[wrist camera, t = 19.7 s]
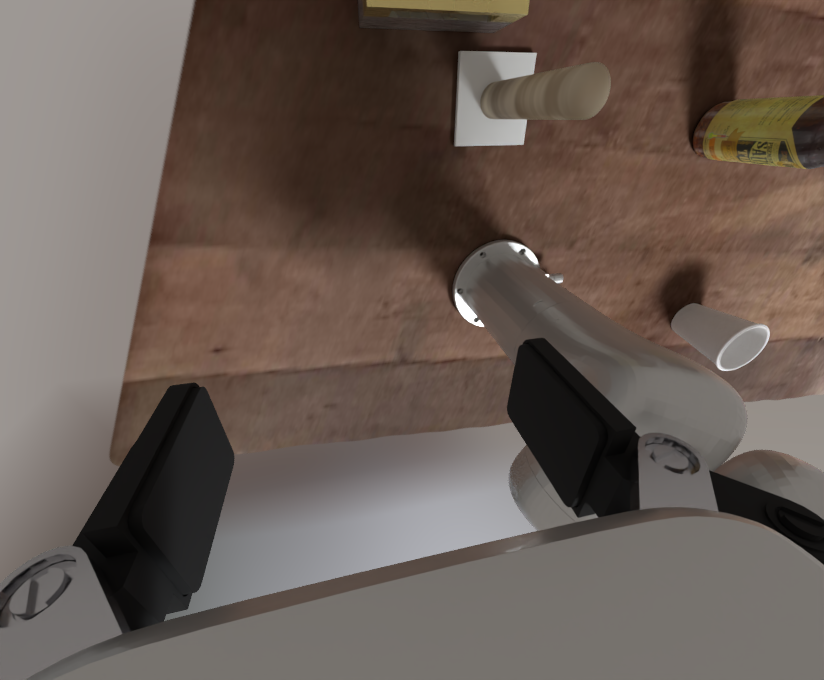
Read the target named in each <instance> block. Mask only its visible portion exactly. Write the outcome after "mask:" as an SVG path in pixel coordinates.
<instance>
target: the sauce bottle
mask: <svg viewBox="0 0 824 680" xmlns="http://www.w3.org/2000/svg"><path fill="white" fill-rule="evenodd" d="M693 148H694V150H695V152H696V154H698V155H699V156H701V157H706V158H709V159H711V160H721V161H731V162H741V163H751V164H762V165H771V166H783V167H794V168H803V169H812V168H818V167H823V166H824V95H821V96H800V97H778V98H758V99H740V100H734V101H730V102H723V103H720V104H718V105H715V106H714V107H712V108H711V109H710V110H709V111H707V112H706V114H705V115H704V116H703V117H702V119H701V120H700V122H699V124H698V125H697V127H696V129H695V132H694V137H693Z"/></svg>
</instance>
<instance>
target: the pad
mask: <svg viewBox="0 0 824 680" xmlns="http://www.w3.org/2000/svg"><path fill="white" fill-rule="evenodd" d="M536 54H537V53H521V52H485V51H459V52H458V73H457V93H456V113H455V134H454V146H490V145H523V144H524V137H525V130H526V123H527V119H489V118H487V117H486V116H485V115H484V114H483V112H482V110H481V104H480V102H481V96H482V93H483V91H484V89H485V88H486V87H487V86H488V85H489V84H491V83H493V82H497V81H502V80H507V79H512V78H517V77H522V76H527V75H532V74H534V67H535V61H536Z"/></svg>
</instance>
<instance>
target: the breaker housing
mask: <svg viewBox="0 0 824 680" xmlns="http://www.w3.org/2000/svg"><path fill="white" fill-rule="evenodd" d="M528 8H529V0H358V14H359V28H379V29H406V30H432V31H459V32H485V33H495V32H496V31H498V30H500V29H502V28H504V27H505V26H507V25H509V24H511V23H513V22H515V21H516V20H518V19H520V18H522V17H524V16H526V15H527V14H528Z"/></svg>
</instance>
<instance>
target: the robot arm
mask: <svg viewBox="0 0 824 680" xmlns="http://www.w3.org/2000/svg"><path fill="white" fill-rule="evenodd" d="M481 252H482V254H481V255H480V253H481ZM562 282H563V275H562V274H561V273H557V274H551V275H549V274H547V273H546V272H544V271H543V270H541V269H540V265H539V262H538V260H537V258H536V256H535V255H534V253H533V252H532V251H531V250H530V249H529V248H528V247H526V246H525V245H523V244H521V243H519V242H516V241H513V240H496V241H493V242H489V243H487V244H485V245H482V246H480V247H479V248H477V249H476V250H475V251H473V252H472V253H471V254H470V255H469V256H468V257H467V258H466V259H465V260H464V261H463V263H462V264H461V266H460V267H459V269H458V271H457V273H456V275H455V279H454V282H453V290H452V292H453V300H454V303H455V306H456V308H457V310H458V311H459V313H460V314H461V315H462V317H463V318H465V319H466V320H467V321H468V322H470V323H472V324H474V325H477V326H481V327H485V328H486V329H487V331H488V332H489V333H490V334H491V336H492V337H493V338H494V339H495V341H496V342H497V343H498V344H499V346H500V347H501V348H502V350H503V351H504V352H505V353H506V355H507V356H508V357H509V358H510V360H511V361H512V362H513V364H514V365H515V368H514V373H513V378H512V384H511V389H510V394H509V399H508V405H507V411H508V415H509V417H510V419H511V420H512V422H513V423H514V425H515V427H516V428H517V430H518V432H519V433H520V435H521V436H522V438H523V439H524V441H525V443H526V444H527V445H526V446H525V447H524V448H523V449H522V450H521V452H520V453H519V454H518V455H517V457H516V458H515V460H514V461H513V463H512V465H511V468H510V472H509V487H510V491H511V494H512V496H513V499H514V501H515V503H516V504H517V506H518V508H519V509H520V511H521V512H522V514H523V515H524V516H525V518H526V519H527V520H528V521H529V523H530V524H531V525H532V526H533V527H534V528H535V529H536V530H537V531H536V532H531V533H527V534H523V535H518V536H514V537H510V538H505V539H501V540H496V541H492V542H488V543H484V544H480V545H475V546H471V547H467V548H463V549H458V550H454V551H449V552H446V553H441V554H437V555H432V556H428V557H424V558H420V559H415V560H411V561H407V562H403V563H398V564H394V565H390V566H386V567H381V568H377V569H373V570H369V571H365V572H360V573H356V574H352V575H348V576H344V577H340V578H335V579H331V580H328V581H323V582H319V583H315V584H311V585H306V586H302V587H298V588H294V589H290V590H286V591H281V592H277V593H273V594H269V595H265V596H261V597H257V598H253V599H248V600H244V601H241V602H237V603H233V604H229V605H225V606H221V607H217V608H214V609H210V610H206V611H202V612H198V613H194V614H190V615H186V616H183V617H179V618H175V619H171V620H167V621H164V619H165V616H166V614H169V613H174V612H178V611H182V610H186V609H188V606H189V603H190V599H191V596H192V593H195V592H197V591H198V590H199V588H200V586H201V583H202V580H203V576H204V573H205V569H206V565H207V561H208V557H209V554H210V550H211V547H212V542H213V539H214V535H215V532H216V528H217V525H218V521H219V517H220V513H221V510H222V506H223V502H224V498H225V495H226V491H227V487H228V484H229V480H230V476H231V473H232V469H233V465H234V453H233V450H232V447H231V445H230V443H229V440H228V438H227V436H226V433H225V431H224V429H223V427H222V424H221V422H220V420H219V417H218V415H217V413H216V410H215V408H214V406H213V403H212V401H211V399H210V396H209V394H208V392H207V390H206V388H205V387H199V386H198V384H196V383H187V384H180V385H172V386H170V387H169V388H168V389H167V391H166V393H165V394H164V396H163V398H162V399H161V401H160V403H159V404H158V406H157V408H156V409H155V411H154V413H153V414H152V416H151V418H150V420H149V421H148V423H147V425H146V426H145V428H144V430H143V431H142V433H141V435H140V436H139V438H138V440H137V441H136V442H135V444H134V445H133V446H132V447H131V449H130V451H129V452H128V454H127V456H126V457H125V459H124V461H123V462H122V464H121V466H120V467H119V469H118V471H117V472H116V474H115V476H114V477H113V479H112V481H111V482H110V484H109V486H108V487H107V489H106V491H105V492H104V494H103V496H102V497H101V499H100V501H99V502H98V504H97V506H96V507H95V509H94V511H93V512H92V514H91V516H90V517H89V519H88V521H87V522H86V524H85V526H84V527H83V529H82V531H81V532H80V534H79V536H78V537H77V539H76V541H75V542H74V544H73V546H64V547H58V548H55V549H52V550H49V551H47V552H44V553H42V554H40V555H38V556H36V557H34V558H32V559H31V560H29V561H27V562H26V563H25V564H23V565H22V566H20V567H19V568H17V569H16V570H15V571H13V572H12V573H11V574H10V575H9V576H7V577H6V578H5V579H4V580H3V581H2V582H1V583H0V680H824V472H823V471H821V470H819V469H818V468H816V467H814V466H812V465H810V464H808V463H806V462H804V461H802V460H800V459H798V458H795V457H793V456H790V455H787V454H784V453H780V452H776V451H772V450H754V451H749V452H746V453H743V454H740V455H738V456H736V457H733V458H732V459H730V460H728V461H727V462H725V461H726V460H727V459H728V458H729V456H730V455H731V454H732V453H733V452H734V450H735V449H736V448H737V447H738V445H739V444H740V442H741V440H742V438H743V436H744V434H745V431H746V427H747V419H748V418H747V410H746V406H745V404H744V402H743V400H742V398H741V397H740V395H739V394H738V393H737V391H736V390H735V389H734V388H733V387H732V386H731V385H730V384H729V383H728V382H726V381H725V380H724V379H722V378H721V377H719V376H718V375H717V374H715V373H714V372H712V371H711V370H709V369H707V368H706V367H704V366H702V365H700V364H698V363H696V362H694V361H693V360H691V359H689V358H686V357H684V356H682V355H680V354H678V353H675V352H673V351H671V350H669V349H667V348H664V347H662V346H660V345H658V344H656V343H653V342H651V341H649V340H647V339H645V338H643V337H641V336H639V335H637V334H635V333H634V332H632V331H630V330H628V329H626V328H625V327H623V326H621V325H620V324H618V323H616V322H615V321H613V320H612V319H610V318H608V317H607V316H605V315H604V314H602V313H601V312H599V311H598V310H596V309H595V308H593V307H592V306H590V305H589V304H587V303H586V302H584V301H583V300H581V299H580V298H578V297H577V296H575V295H574V294H572V293H571V292H569V291H568V290H567V289H566V288H564V287H562V286H561V285H559V283H562ZM459 288H460V289H459ZM458 289H459V290H458ZM724 462H725V463H724ZM723 463H724V464H723Z"/></svg>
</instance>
